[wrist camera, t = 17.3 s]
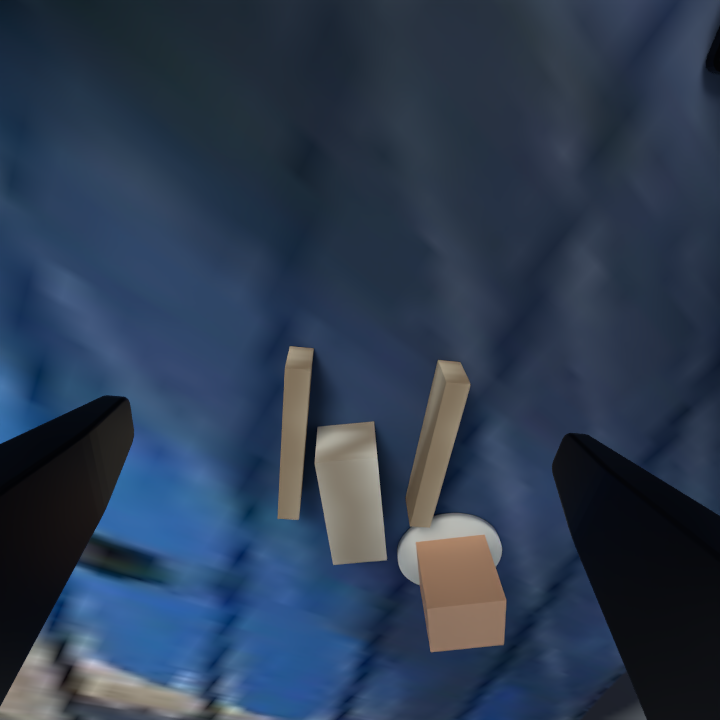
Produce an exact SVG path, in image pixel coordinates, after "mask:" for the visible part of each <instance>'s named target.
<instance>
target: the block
mask: <svg viewBox="0 0 720 720" xmlns="http://www.w3.org/2000/svg"><path fill="white" fill-rule="evenodd" d="M416 550H417V561H418V572H419V582H420V590H421V596H422V602H423V608H424V614H425V621H426V627H427V633H428V639H429V645H430V651H431V652H438V651H447V650H457V649H467V648H476V647H486V646H496V645H504V633H505V616H506V597H505V594H504V591H503V588H502V585H501V582H500V579H499V576H498V573H497V570H496V567H495V564H494V561H493V558H492V555H491V552H490V549H489V546H488V543H487V540H486V537H485V535H476V536H467V537H458V538H449V539H439V540H430V541H421V542H416Z"/></svg>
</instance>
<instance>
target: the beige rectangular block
mask: <svg viewBox="0 0 720 720" xmlns="http://www.w3.org/2000/svg"><path fill="white" fill-rule="evenodd" d="M315 468H316V473H317V479H318V484H319V490H320V495H321V500H322V506H323V511H324V517H325V522H326V528H327V533H328V538H329V544H330V549H331V555H332V560H333V565H337V564H348V563H360V562H371V561H383V560H387V555H386V544H385V533H384V523H383V512H382V501H381V491H380V480H379V469H378V459H377V448H376V438H375V427H374V422H364V423H353V424H342V425H332V426H321V427H318V428H317V440H316V452H315Z"/></svg>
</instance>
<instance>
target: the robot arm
mask: <svg viewBox="0 0 720 720" xmlns="http://www.w3.org/2000/svg"><path fill="white" fill-rule="evenodd" d="M706 68H707V69H708V71H709V72H711V73H715V74H720V26H719V29H718V31H717V34H716V36H715V39H714V41H713V43H712V46H711V48H710V51H709V53H708V56H707V59H706ZM133 438H134V427H133V420H132V414H131V407H130V402H129V400H128V399H127V398H126V397H121V396H109V395H106V396H102V397H100V398H98V399H96V400H94V401H91V402H89V403H87V404H85V405H83V406H81V407H79V408H77V409H74V410H72V411H70V412H68V413H66V414H64V415H62V416H59V417H57V418H55V419H53V420H51V421H49V422H47V423H44V424H42V425H40V426H38V427H36V428H34V429H32V430H29V431H27V432H25V433H23V434H21V435H19V436H17V437H14V438H12V439H10V440H8V441H6V442H4V443H2V444H0V706H1V704H2V702H3V700H4V698H5V696H6V695H7V693H8V691H9V689H10V687H11V685H12V683H13V682H14V680H15V678H16V676H17V674H18V672H19V670H20V669H21V667H22V665H23V663H24V661H25V659H26V657H27V656H28V654H29V652H30V650H31V648H32V646H33V644H34V642H35V641H36V639H37V637H38V635H39V633H40V631H41V629H42V628H43V626H44V624H45V622H46V620H47V618H48V616H49V615H50V613H51V611H52V609H53V607H54V605H55V603H56V602H57V600H58V598H59V596H60V594H61V592H62V590H63V589H64V587H65V585H66V583H67V581H68V579H69V577H70V575H71V574H72V572H73V570H74V568H75V566H76V564H77V562H78V561H79V559H80V557H81V555H82V553H83V551H84V549H85V548H86V546H87V544H88V542H89V540H90V538H91V536H92V535H93V533H94V531H95V529H96V527H97V525H98V523H99V521H100V520H101V518H102V516H103V514H104V512H105V510H106V507H107V505H108V503H109V500H110V498H111V495H112V493H113V490H114V488H115V485H116V483H117V480H118V478H119V475H120V473H121V470H122V467H123V465H124V462H125V460H126V457H127V455H128V452H129V450H130V447H131V445H132V442H133ZM552 472H553V476H554V480H555V483H556V487H557V490H558V493H559V497H560V500H561V503H562V507H563V510H564V514H565V517H566V520H567V524H568V527H569V530H570V533H571V536H572V539H573V542H574V544H575V547H576V549H577V552H578V554H579V557H580V559H581V561H582V564H583V566H584V569H585V571H586V574H587V576H588V578H589V581H590V583H591V586H592V588H593V590H594V593H595V595H596V598H597V600H598V603H599V605H600V607H601V610H602V612H603V615H604V617H605V620H606V622H607V624H608V627H609V629H610V632H611V634H612V636H613V639H614V641H615V644H616V646H617V649H618V651H619V653H620V656H621V658H622V661H623V663H624V665H625V668H626V670H627V673H628V675H629V677H630V680H631V682H632V685H633V687H634V690H635V692H636V694H637V697H638V699H639V702H640V704H641V707H642V709H643V711H644V714H645V716H646V718H647V720H720V516H719V515H718V514H716V513H714V512H713V511H711V510H709V509H708V508H706V507H705V506H703V505H701V504H700V503H698V502H696V501H695V500H693V499H692V498H690V497H688V496H687V495H685V494H683V493H682V492H680V491H678V490H677V489H675V488H674V487H672V486H670V485H669V484H667V483H665V482H664V481H662V480H661V479H659V478H657V477H656V476H654V475H652V474H651V473H649V472H648V471H646V470H644V469H643V468H641V467H639V466H638V465H636V464H635V463H633V462H631V461H630V460H628V459H626V458H625V457H623V456H621V455H620V454H618V453H617V452H615V451H613V450H612V449H610V448H608V447H607V446H605V445H604V444H602V443H600V442H599V441H597V440H595V439H594V438H592V437H591V436H589V435H586V434H578V433H568V434H566V435H565V436H564V438H563V439H562V442H561V444H560V446H559V449H558V451H557V453H556V456H555V458H554V460H553V464H552Z"/></svg>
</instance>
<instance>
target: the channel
mask: <svg viewBox="0 0 720 720" xmlns="http://www.w3.org/2000/svg"><path fill="white" fill-rule="evenodd" d="M313 350H314V348H303V347H293V346H290V348H289V353H288V357H287V361H286V366H285V379H284V399H283V420H282V440H281V461H280V481H279V502H278V519H293V520H299V513H300V504H301V495H302V484H303V471H304V459H305V447H306V435H307V423H308V411H309V398H310V386H311V374H312V362H313ZM470 385H471V384H470V382H469V380H468V378H467V375H466V373H465V371H464V369H463V367H462V365H461V363H460V362H453V361H443V360H438V362H437V366H436V371H435V375H434V379H433V383H432V388H431V392H430V396H429V400H428V405H427V409H426V413H425V417H424V422H423V426H422V430H421V434H420V439H419V443H418V447H417V451H416V456H415V460H414V464H413V468H412V473H411V477H410V481H409V485H408V490H407V494H406V498H405V499H406V505H407V511H408V517H409V524H410V527H427V528H430V526H431V522H432V519H433V515H434V512H435V508H436V505H437V501H438V498H439V494H440V491H441V487H442V484H443V480H444V477H445V473H446V470H447V466H448V463H449V459H450V455H451V452H452V448H453V445H454V441H455V438H456V434H457V431H458V427H459V424H460V420H461V417H462V413H463V410H464V406H465V403H466V399H467V396H468V392H469V389H470Z"/></svg>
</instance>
